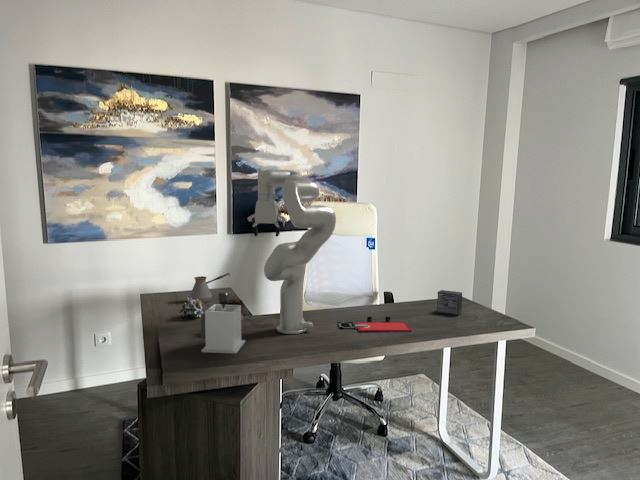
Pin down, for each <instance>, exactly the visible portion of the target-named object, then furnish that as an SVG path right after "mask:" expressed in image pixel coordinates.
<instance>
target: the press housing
mask: <svg viewBox="0 0 640 480" xmlns="http://www.w3.org/2000/svg"><path fill="white" fill-rule="evenodd" d="M241 330H242V323H241V305H225V312H223V311H222V305H221V304H219V303H218V304H213V305H211V306H210V307H209V308H208V309H206V310H204V312H203V313H201V318H200V335H201V336H200V337H201V339H205V346H204V347H203V348H202V349H201V353H210V354H211V353H213V354H234V355H235V354H237V353H238V352H239V351H240V349H241V348H242V347H243V346H244V344H245V343H246V339H242V331H241Z"/></svg>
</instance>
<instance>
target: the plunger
mask: <svg viewBox="0 0 640 480" xmlns="http://www.w3.org/2000/svg"><path fill="white" fill-rule="evenodd" d="M217 294H218V295H217V297H218V300H217V301H218V304H220V305H222V311H223V312H225V304H228V300H229V292H228V291H220V292H219V291H218V293H217Z"/></svg>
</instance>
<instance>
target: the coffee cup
mask: <svg viewBox="0 0 640 480" xmlns="http://www.w3.org/2000/svg"><path fill="white" fill-rule="evenodd" d="M225 305H241V324H242V322H243V317H244V313H243V312H244V311H243V310H244V307H245V303H243V300H242V299H240V298H239V299H238V298H237V299H236V298H233V299H228V304H225Z"/></svg>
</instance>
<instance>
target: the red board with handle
mask: <svg viewBox="0 0 640 480" xmlns="http://www.w3.org/2000/svg"><path fill="white" fill-rule="evenodd" d="M366 318H367V319H366V322H365V321H364V322H360V321H356V322H353V321H337V323H338V326H339V328H340V329H354V330H357V332H358V333H401V332H402V333H407V332H409V333H412V332H413V331H412V329H411V328H410V327H409V325H408V324H407V323H406V322H405V321H402V322H401V321H393V322H391V317H390V316H385V322H383V321H380V322H379V321H375V322H373V319H372V316H367V317H366Z"/></svg>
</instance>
